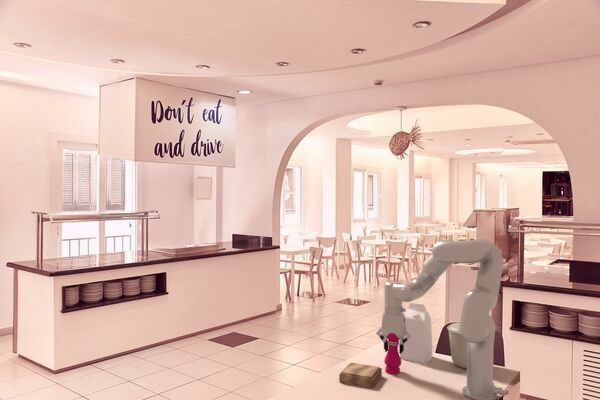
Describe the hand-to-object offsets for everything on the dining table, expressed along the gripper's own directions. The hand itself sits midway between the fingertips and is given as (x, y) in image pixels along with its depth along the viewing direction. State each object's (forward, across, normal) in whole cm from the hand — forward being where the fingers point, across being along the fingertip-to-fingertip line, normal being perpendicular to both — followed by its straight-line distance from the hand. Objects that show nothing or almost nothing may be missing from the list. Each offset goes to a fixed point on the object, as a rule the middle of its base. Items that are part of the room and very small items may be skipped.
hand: (393, 351), depth 203 cm
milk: (+9, -5, -23) cm, 26 cm away
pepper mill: (+9, +1, 0) cm, 9 cm away
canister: (+10, -28, -23) cm, 38 cm away
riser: (+9, +11, +14) cm, 20 cm away
